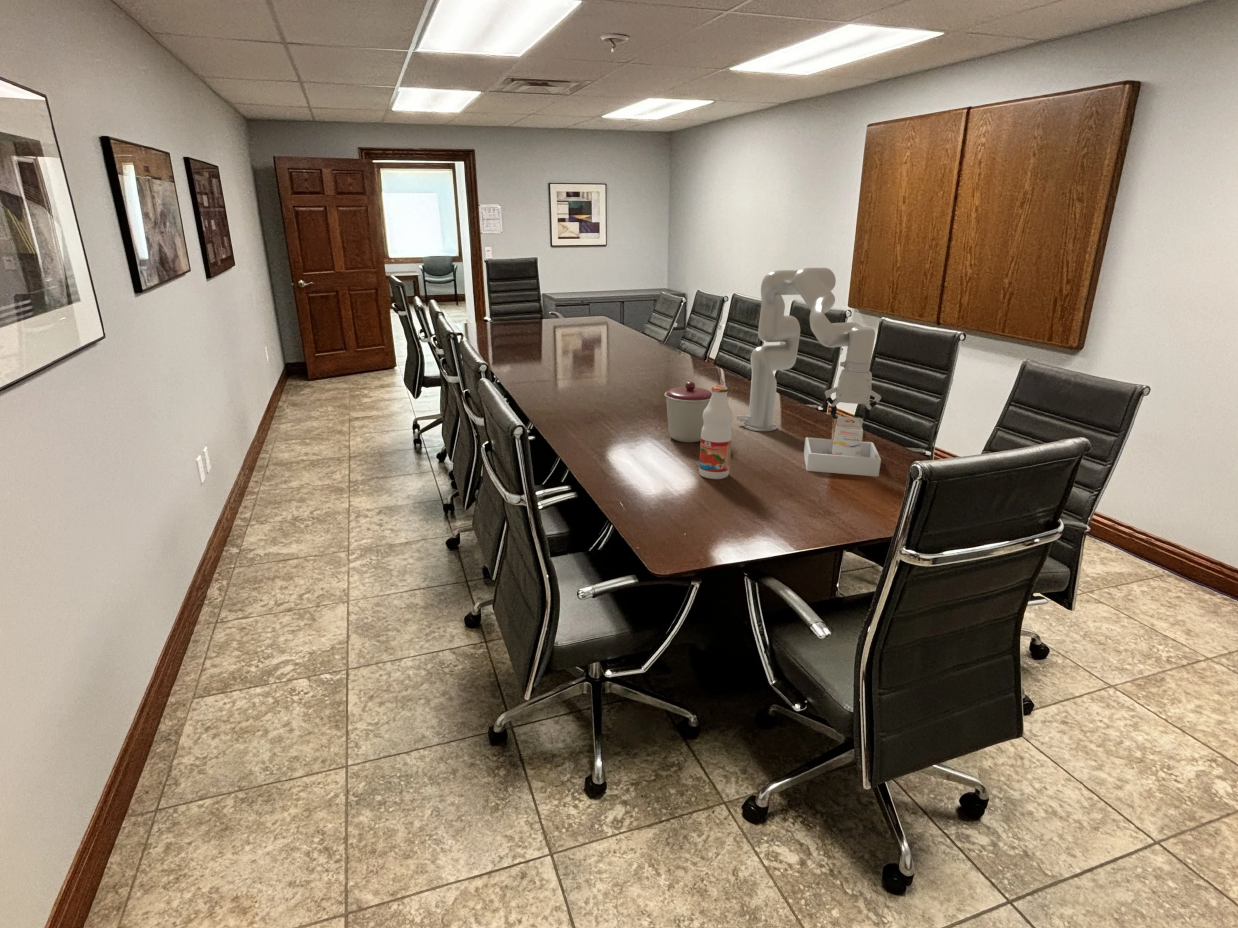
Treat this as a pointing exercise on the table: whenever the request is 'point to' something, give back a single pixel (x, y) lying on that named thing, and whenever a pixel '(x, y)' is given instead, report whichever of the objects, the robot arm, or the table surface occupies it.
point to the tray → (840, 458)
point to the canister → (686, 411)
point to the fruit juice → (716, 436)
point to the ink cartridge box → (848, 436)
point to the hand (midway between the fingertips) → (848, 418)
